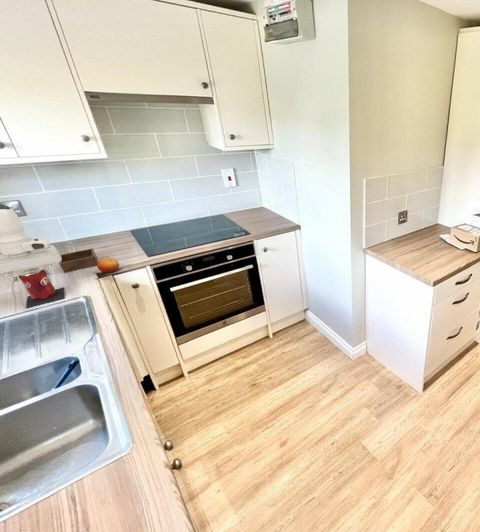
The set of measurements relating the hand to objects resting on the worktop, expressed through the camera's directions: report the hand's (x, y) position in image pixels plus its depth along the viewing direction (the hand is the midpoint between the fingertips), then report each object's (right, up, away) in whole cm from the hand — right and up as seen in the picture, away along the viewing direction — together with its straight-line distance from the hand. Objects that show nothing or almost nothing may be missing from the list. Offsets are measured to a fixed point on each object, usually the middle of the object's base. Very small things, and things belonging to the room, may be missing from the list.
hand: (33, 277), depth 129 cm
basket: (-12, +6, +31) cm, 34 cm away
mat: (0, -9, +5) cm, 10 cm away
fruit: (+8, +2, +26) cm, 27 cm away
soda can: (0, -8, +4) cm, 9 cm away
